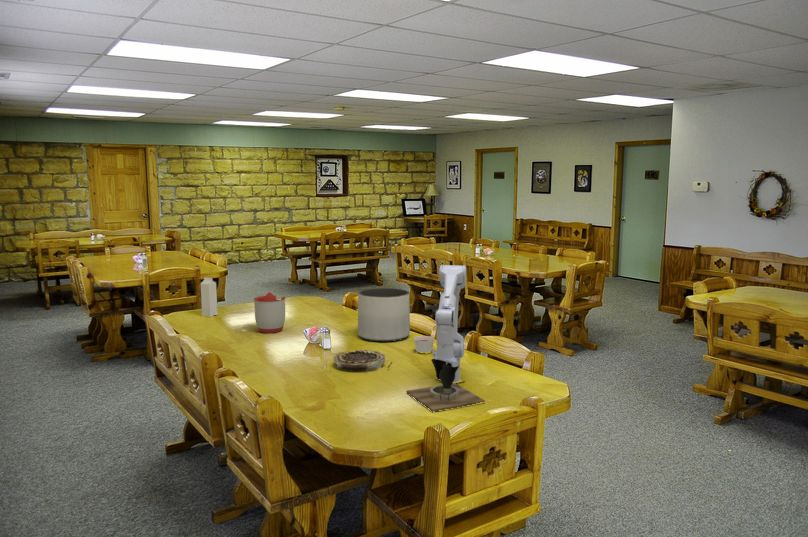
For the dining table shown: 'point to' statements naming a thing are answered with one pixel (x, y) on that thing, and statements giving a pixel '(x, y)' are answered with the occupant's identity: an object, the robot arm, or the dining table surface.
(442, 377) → the light bulb
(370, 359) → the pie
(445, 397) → the socket ring
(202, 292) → the milk
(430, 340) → the candle
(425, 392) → the socket board
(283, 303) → the citrus juicer
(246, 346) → the dining table surface
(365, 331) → the planter
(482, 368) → the dining table surface
